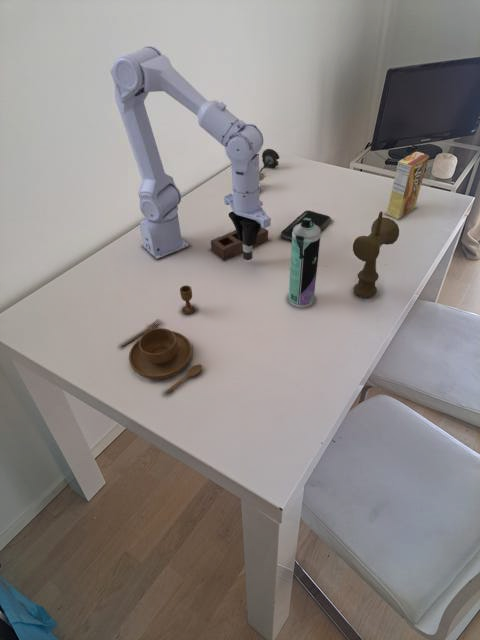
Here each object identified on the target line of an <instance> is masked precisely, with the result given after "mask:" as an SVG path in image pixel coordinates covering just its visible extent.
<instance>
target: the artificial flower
mask: <svg viewBox="0 0 480 640" xmlns="http://www.w3.org/2000/svg"><path fill="white" fill-rule="evenodd" d="M261 158H262V165H263V167H261V169H259V182H261V181H263V180H264V179H265V178H266V177H267V171H266V170H264V169H267V168H273V169H274V168H277V167H278V166H279V160H280V155H279V154H278V152H276V150H275V149H272V148H266V149H265V150H263V151H262V153H261ZM260 191H261V186H260V185H259V192H260Z"/></svg>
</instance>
